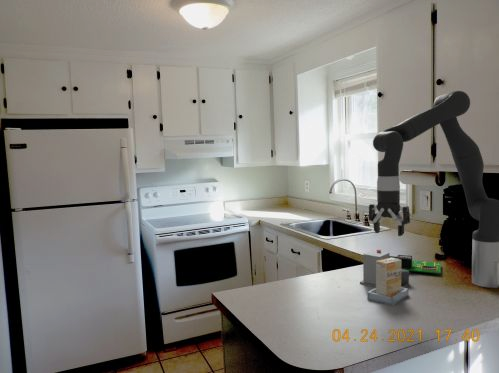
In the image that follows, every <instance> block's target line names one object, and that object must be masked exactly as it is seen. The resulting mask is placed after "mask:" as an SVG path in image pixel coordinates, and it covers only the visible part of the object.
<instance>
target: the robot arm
mask: <svg viewBox="0 0 499 373" xmlns="http://www.w3.org/2000/svg"><path fill="white" fill-rule="evenodd" d="M470 106H471V99H470V97H469V95H468V94H467V93H466V91H465V92H464V91H463V90H453V91H451V92H447V93H444V94H441V95H438V96H437V97H435V99H434V102H433V106H432V108H429V109H427V110H425V111H422V112H419V113H418V114H415V115H412V116H411V117H409V118H407V119H405V120H404V121H402V122H400V123H399V124H396V125H394V126H392V127H389V128H386V129H384V130H382V131H380V132H378V133H377V134H376V135H375V136H374V137H373V140H372V146H373V148H374V149H375V150H376V151H378V152H379V153H384V156H383V158H381V159H379V161H378V162H377V180H376V197H377V198H376V200H377V204H376V203H371V204H369V205H368V221H370V222H372V223H373V231H374V233H375V234H379V233H380V231H381V222H380V221H381V220H382V219H383V218H389V219H394V221H395V222H396V223H397V236H398V237H401V236H403V235H404V234H405V225H408V224H410V223H411V217H410V216H411V215H410V206H408V205H405V206H401V204H400V201H401V193H400V192H401V190H400V189H401V185H400V181H401V180H400V167H399V164H400V161H401V157H402V153H403V149H404V143H406V142H409V141H412V140H414V139H415V138H417V137H419V136H420V135H422V134H424V133H425V132H427V131H429V130H431V129H432V128H435V127H436V126H437V125H440V127H441V130H442V132H443V134H444V137H445V139H446V141H447V142H446V143H447V145H448V147H449V150H450V153H451V156H452V160H453V162H454V165H455V168H456V171H457V173H458V176H459V179H460V182H461V185H462V188H463V191H464V195H465V201H466V204H467V208H468V212H469V214H470V216H471V217H472V218H473V219H475V220H476V221H479V222H478V229H477V230H474V231H472V243H471V244H472V245H471V246H472V250H471V252H472V253H471V254H472V255H471V283H472V284H473V285H475V286H477V287H483V288H493V289H498V288H499V199H495V198H490V197H488V195H487V193H486V191H485V188H484V184H483V175H484V174H483V173H484V165H485V162H484V159H483V156H482V153H481V150H480V147H479V145H478V144H477V143H476V142H475V140H473V139H472V138H471V136H470V135H469V134H467V133H466V132H465V131H464V130H463V128H462V127H461V125H460V123H459V120H458V118H457V117H460V116H463V115H464V114H466V113H467V112H468V111H469V108H470ZM376 210H377V211H378V213H377V214H376ZM400 211H401V213H402V215H401V214H400Z"/></svg>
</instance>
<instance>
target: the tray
mask: <svg viewBox="0 0 499 373" xmlns="http://www.w3.org/2000/svg"><path fill="white" fill-rule="evenodd" d="M366 293H367V294H366V295H367V296H366V297H367V298H366V300H370V301H373V302H377V303H381V304H385V305H390V306H394V305H396V304H397V303H399V302H401V301H402V300H404V299H405V298H406V297H408V296H409V288H406V287H402V286H401V292H400V293H398V294H396V295H395V296H393V297H388V296H384V295H380V294H376V287H373V288H372V289H370V290H369V291H367V292H366Z"/></svg>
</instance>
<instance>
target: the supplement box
mask: <svg viewBox="0 0 499 373" xmlns="http://www.w3.org/2000/svg"><path fill="white" fill-rule="evenodd" d="M401 287H402V285H401V260H400V259H396V258H387V259H383V260H378V261H376V287H375V288H376V294H380V295H384V296H388V297H393V296H395V295H396V294H398V293H400V292H401Z"/></svg>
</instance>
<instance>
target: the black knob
mask: <svg viewBox="0 0 499 373" xmlns="http://www.w3.org/2000/svg"><path fill="white" fill-rule="evenodd" d="M409 284H410V273H409V271H408V270H404V269H401V286H409Z"/></svg>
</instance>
